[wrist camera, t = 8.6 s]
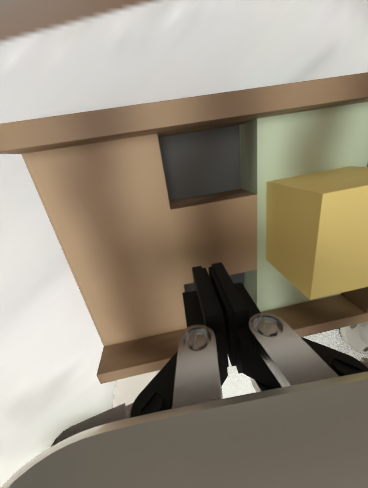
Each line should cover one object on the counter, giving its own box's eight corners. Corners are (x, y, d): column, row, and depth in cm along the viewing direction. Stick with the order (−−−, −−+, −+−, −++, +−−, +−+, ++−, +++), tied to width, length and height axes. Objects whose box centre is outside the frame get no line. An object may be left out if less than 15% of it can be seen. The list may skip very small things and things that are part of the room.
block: (349, 166, 14) (443, 170, 10) (336, 244, 17) (406, 278, 12) (266, 181, 14) (322, 193, 9) (265, 259, 16) (310, 300, 12)
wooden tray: (355, 92, 15) (455, 60, 10) (324, 282, 22) (374, 319, 17) (40, 138, 14) (-25, 127, 9) (113, 328, 20) (100, 383, 15)
